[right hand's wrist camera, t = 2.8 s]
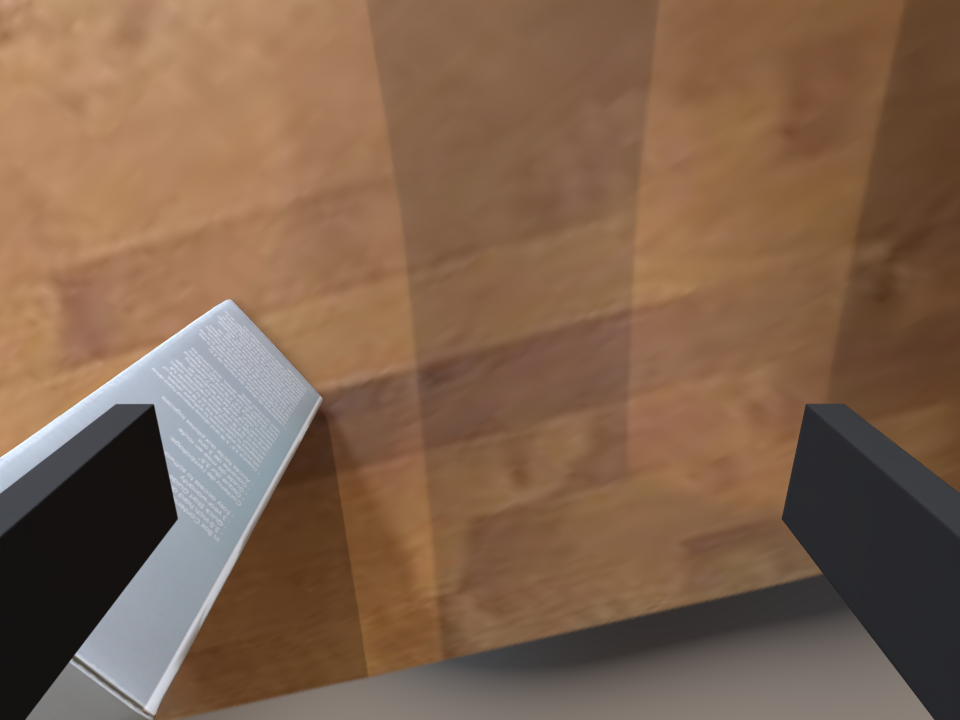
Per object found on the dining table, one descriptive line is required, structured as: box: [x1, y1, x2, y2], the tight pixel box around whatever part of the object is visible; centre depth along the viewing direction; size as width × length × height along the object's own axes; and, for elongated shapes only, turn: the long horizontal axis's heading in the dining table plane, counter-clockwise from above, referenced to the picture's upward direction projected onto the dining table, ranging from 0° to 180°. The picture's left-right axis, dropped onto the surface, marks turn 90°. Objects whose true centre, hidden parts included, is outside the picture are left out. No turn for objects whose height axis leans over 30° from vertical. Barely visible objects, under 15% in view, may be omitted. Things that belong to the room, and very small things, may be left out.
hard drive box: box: [0, 300, 323, 720], centre depth 25 cm, size 16×8×20 cm, turn 127°
